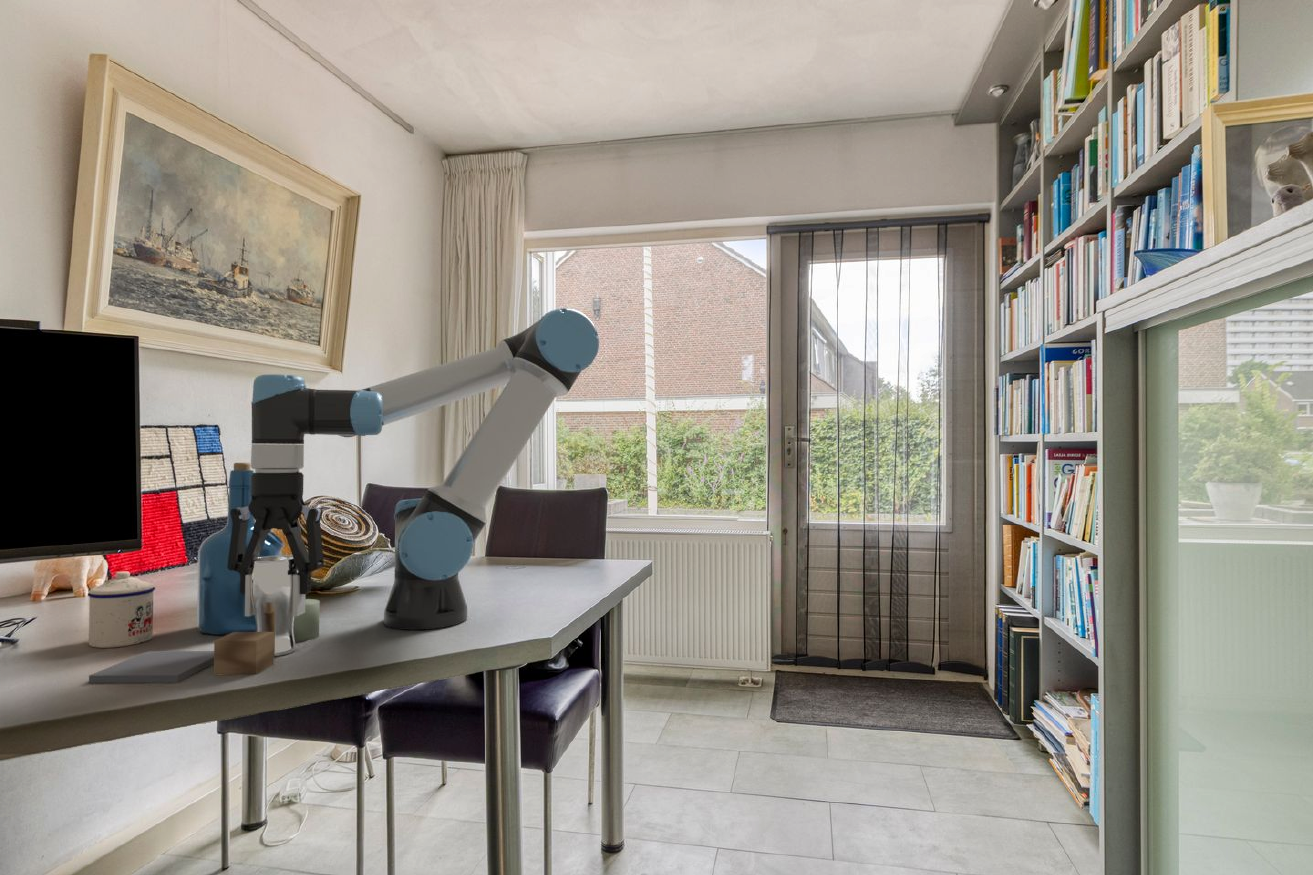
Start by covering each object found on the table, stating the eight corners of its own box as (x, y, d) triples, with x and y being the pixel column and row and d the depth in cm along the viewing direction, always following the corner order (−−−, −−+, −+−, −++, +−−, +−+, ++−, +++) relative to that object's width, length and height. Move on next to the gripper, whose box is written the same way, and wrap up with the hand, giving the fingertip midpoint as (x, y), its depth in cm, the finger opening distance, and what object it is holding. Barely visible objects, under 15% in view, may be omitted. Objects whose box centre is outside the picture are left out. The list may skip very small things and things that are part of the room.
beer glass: (247, 660, 110) (248, 562, 110) (252, 648, 117) (253, 556, 117) (297, 654, 113) (298, 559, 113) (300, 643, 119) (301, 553, 120)
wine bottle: (190, 640, 122) (192, 463, 122) (203, 622, 134) (205, 462, 134) (280, 632, 127) (283, 463, 128) (285, 616, 139) (287, 462, 140)
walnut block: (273, 664, 108) (274, 631, 108) (256, 675, 103) (256, 640, 103) (233, 665, 108) (233, 631, 108) (213, 675, 103) (214, 640, 103)
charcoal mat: (226, 657, 112) (226, 650, 112) (177, 682, 100) (177, 675, 100) (147, 657, 111) (147, 651, 111) (88, 682, 99) (88, 675, 99)
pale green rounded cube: (324, 633, 127) (325, 599, 127) (309, 642, 121) (310, 606, 121) (292, 632, 127) (293, 598, 127) (276, 641, 121) (277, 605, 121)
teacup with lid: (138, 647, 117) (140, 575, 117) (74, 650, 115) (76, 577, 115) (171, 629, 129) (172, 564, 129) (113, 631, 127) (114, 565, 127)
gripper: (348, 470, 119) (346, 609, 119) (228, 470, 119) (226, 609, 118) (329, 472, 112) (327, 619, 111) (201, 471, 111) (198, 619, 111)
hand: (275, 614), depth 115 cm, fingers closed on beer glass, 7 cm apart
